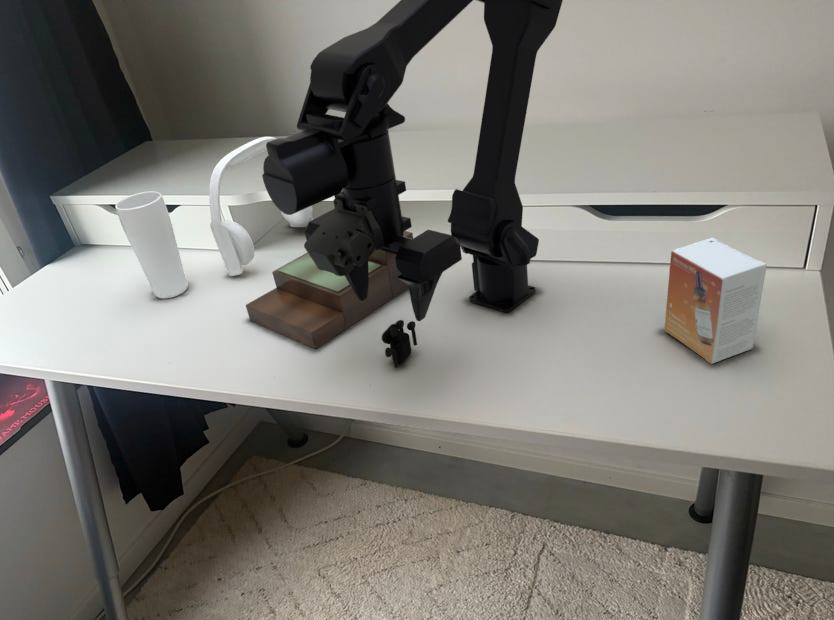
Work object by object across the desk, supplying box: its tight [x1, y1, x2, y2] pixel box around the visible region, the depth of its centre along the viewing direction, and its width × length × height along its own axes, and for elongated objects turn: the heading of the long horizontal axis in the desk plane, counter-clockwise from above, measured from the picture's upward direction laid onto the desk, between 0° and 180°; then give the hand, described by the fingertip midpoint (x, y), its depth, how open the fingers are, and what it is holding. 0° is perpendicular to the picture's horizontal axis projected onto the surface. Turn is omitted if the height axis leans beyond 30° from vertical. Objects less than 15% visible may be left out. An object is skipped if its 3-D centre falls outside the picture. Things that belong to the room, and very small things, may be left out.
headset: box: [208, 136, 314, 277], centre depth 113 cm, size 20×7×18 cm, turn 148°
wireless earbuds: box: [381, 319, 418, 369], centre depth 85 cm, size 7×2×5 cm, turn 152°
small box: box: [663, 237, 768, 365], centre depth 77 cm, size 8×6×10 cm
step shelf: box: [245, 230, 414, 350], centre depth 99 cm, size 14×20×8 cm
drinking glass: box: [115, 190, 189, 299], centre depth 107 cm, size 7×7×15 cm
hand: (391, 309), depth 82 cm, fingers open, 9 cm apart
